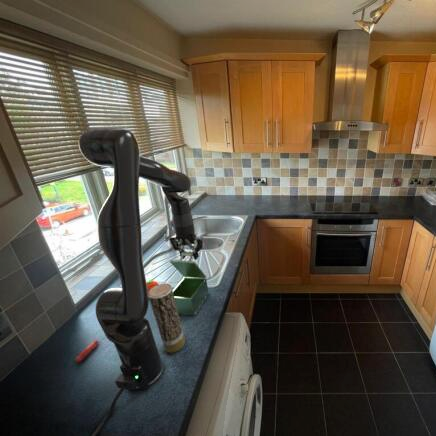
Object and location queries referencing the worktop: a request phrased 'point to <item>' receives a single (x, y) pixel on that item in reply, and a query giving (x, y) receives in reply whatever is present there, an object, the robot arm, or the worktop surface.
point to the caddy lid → (188, 266)
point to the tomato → (151, 284)
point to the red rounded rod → (87, 351)
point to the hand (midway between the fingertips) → (190, 258)
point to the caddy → (190, 295)
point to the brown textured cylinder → (167, 317)
